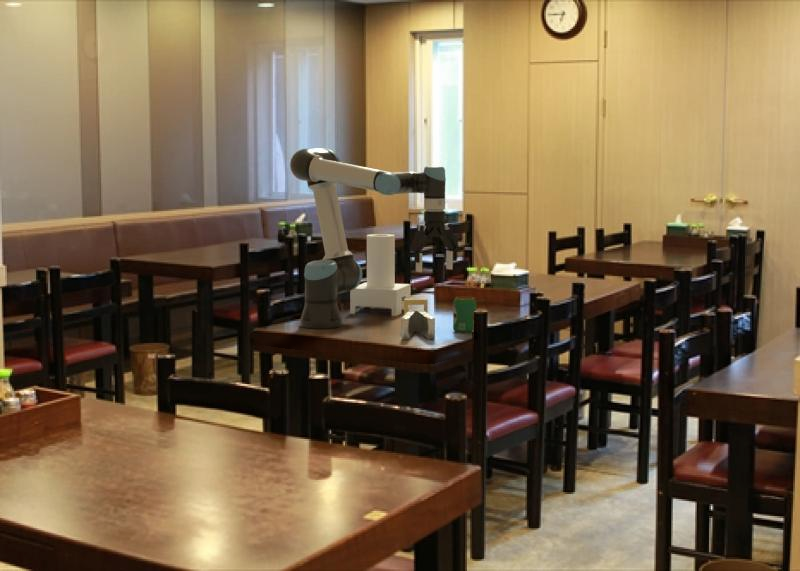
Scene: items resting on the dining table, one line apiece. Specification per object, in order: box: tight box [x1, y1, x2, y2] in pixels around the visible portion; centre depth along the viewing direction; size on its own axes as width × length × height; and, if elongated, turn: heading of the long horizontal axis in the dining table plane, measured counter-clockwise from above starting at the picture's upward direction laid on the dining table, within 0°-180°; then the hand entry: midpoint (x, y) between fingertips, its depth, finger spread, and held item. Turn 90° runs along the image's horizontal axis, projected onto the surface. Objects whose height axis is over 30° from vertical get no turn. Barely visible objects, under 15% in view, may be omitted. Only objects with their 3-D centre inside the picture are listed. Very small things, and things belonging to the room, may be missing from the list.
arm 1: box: [401, 310, 416, 340], centre depth 394 cm, size 18×2×7 cm, turn 172°
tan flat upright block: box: [403, 298, 429, 316], centre depth 407 cm, size 2×8×11 cm, turn 92°
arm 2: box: [416, 310, 436, 340], centre depth 394 cm, size 18×2×7 cm, turn 12°
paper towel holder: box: [349, 233, 412, 317], centre depth 448 cm, size 19×19×30 cm
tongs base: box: [408, 309, 424, 331], centre depth 407 cm, size 3×5×7 cm, turn 92°
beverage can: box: [452, 296, 477, 334], centre depth 402 cm, size 8×8×12 cm
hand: (434, 270), depth 405 cm, fingers open, 13 cm apart
